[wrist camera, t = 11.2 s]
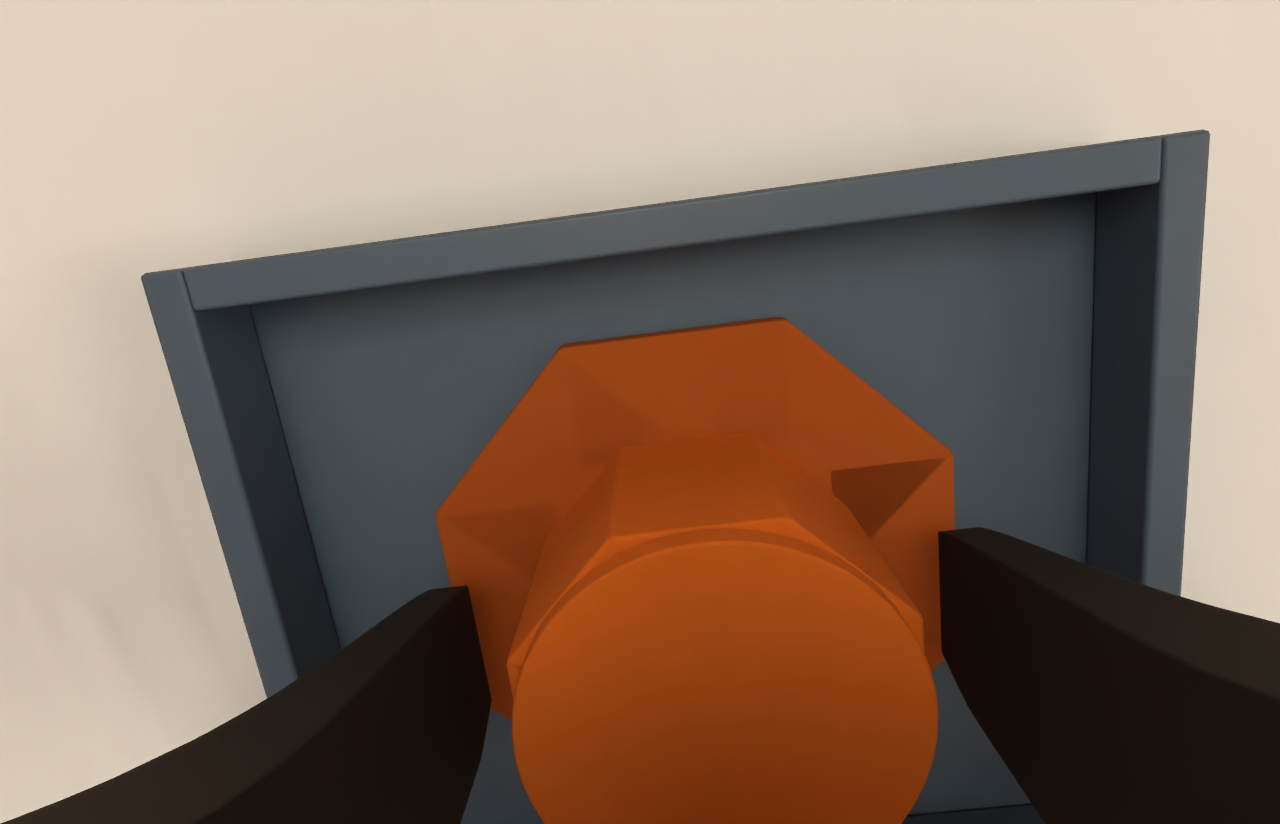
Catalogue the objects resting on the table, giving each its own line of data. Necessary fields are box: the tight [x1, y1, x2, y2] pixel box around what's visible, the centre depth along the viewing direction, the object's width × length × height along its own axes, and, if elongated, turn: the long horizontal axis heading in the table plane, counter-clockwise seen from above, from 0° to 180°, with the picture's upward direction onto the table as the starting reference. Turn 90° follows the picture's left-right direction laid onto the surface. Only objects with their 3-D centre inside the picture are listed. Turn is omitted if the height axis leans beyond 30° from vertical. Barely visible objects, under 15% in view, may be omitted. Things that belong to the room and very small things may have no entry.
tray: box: [141, 130, 1210, 824], centre depth 12 cm, size 14×12×2 cm
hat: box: [435, 316, 955, 824], centre depth 11 cm, size 8×8×4 cm
